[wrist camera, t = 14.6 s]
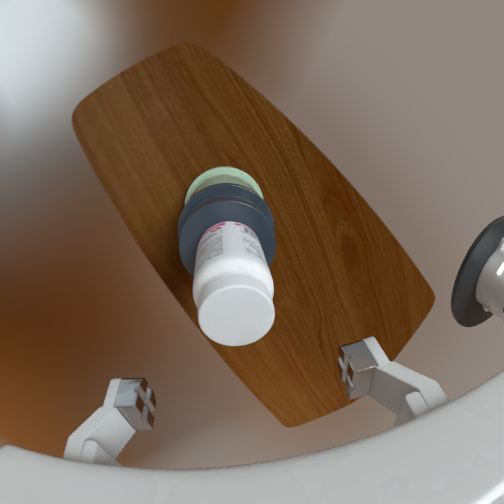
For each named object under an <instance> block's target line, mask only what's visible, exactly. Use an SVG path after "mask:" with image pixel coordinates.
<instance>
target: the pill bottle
mask: <svg viewBox="0 0 504 504" xmlns="http://www.w3.org/2000/svg"><path fill="white" fill-rule="evenodd" d="M273 293H274V286H273V280H272V277H271V274H270V270H269V268H268V265H267V262H266V259H265V256H264V253H263V250H262V247H261V244H260V242H259V239H258V238H257V236H256V234H255V233H254V232H253V231H252V230H251V229H250V228H249V227H247V226H246V225H244V224H241V223H238V222H231V221H228V222H221V223H218V224H216V225H214V226H212V227H210V228H209V229H208V230H207V231H206V232H205V233H204V234H203V235H202V237H201V239H200V241H199V244H198V248H197V254H196V262H195V271H194V279H193V298H194V301H195V304H196V306H197V308H198V322H199V325H200V327H201V330H202V331H203V332H204V334H205V335H206V336H208V337H209V338H210V339H212V340H213V341H215V342H217V343H219V344H223V345H227V346H242V345H247V344H250V343H253V342H255V341H257V340H259V339H260V338H262V337H263V336H264V335H265V334H266V333H267V332H268V331H269V330H270V328H271V326H272V324H273V321H274V317H275V311H274V306H273V301H272V298H273Z"/></svg>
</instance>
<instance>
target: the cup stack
mask: <svg viewBox="0 0 504 504" xmlns="http://www.w3.org/2000/svg"><path fill="white" fill-rule="evenodd" d="M228 221H231V222H238V223H241V224H244V225H246V226H247V227H249V228H250V229H251V230H252V231H253V232H254V233H255V234H256V236H257V238H258V239H259V242H260V244H261V247H262V250H263V253H264V256H265V259H266V262H267V265H268V268H269V266H270V264H271V263H272V260H273V258H274V254H275V249H276V240H275V234H274V233H275V225H274V219H273V216H272V213H271V211H270V209H269V207H268V205H267V204H266V202H265V201H264V200H263V196H262V192H261V190H260V188H259V186H258V184H257V183H256V182H255V180H254V179H253V178H252V177H251V176H250V175H248V174H247V173H246V172H244V171H242V170H240V169H237V168H234V167H225V166H222V167H216V168H212V169H209V170H207V171H205V172H203V173H202V174H200V175H199V176H198V177H197V178H196V179H195V180H194V181H193V183H192V184H191V186H190V187H189V189H188V192H187V194H186V198H185V206H184V208H183V210H182V212H181V215H180V217H179V221H178V229H177V232H178V240H179V253H180V258H181V260H182V263H183V265H184V267H185V268H186V270H187V271H188V272H189V273H190V275H191V276H192V277H194V271H195V262H196V254H197V248H198V244H199V241H200V239H201V237H202V235H203V234H204V233H205V232H206V231H207V230H208V229H209V228H210V227H212V226H214V225H216V224H218V223H221V222H228Z"/></svg>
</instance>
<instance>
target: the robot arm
mask: <svg viewBox="0 0 504 504" xmlns="http://www.w3.org/2000/svg"><path fill="white" fill-rule="evenodd" d="M475 295H476V300H477V301H478V302H479V303H480V304H482V308H483V310H484V311H486V312H488V311H490V312H491V313H493V314H494V315H495V316H497V317H498V318H499V319H501V320H502V321H503V322H504V237H503V238H502V240H501V241H500V243H499V245H498V247H497V249H496V250H495V252H494V253H493V254H492V255H491V257H490V258H489V259H488V261H487V262H486V264H485V266H484V267H483V269H482V271H481V274H480V276H479V279H478V282H477V285H476V292H475ZM338 353H339V355H340V358H339V359H338V371H339V374H340V377H341V379H342V381H344V382H346V384H345V389H346V391H347V394H348V396H349V398H350V400H351V399H354V398H358V397H361V396H365V395H368V394H369V395H370V396H371V397H372V398H374V399H375V400H376V401H378V402H380V403H381V404H382V405H384V406H385V407H387V408H388V409H390V410H391V411H392V412H394V413H395V414H397V415H398V417H397V419H396V421H395V423H394V426H393V428H390V429H387V430H385V431H382V432H379V433H376V434H374V435H371V436H368V437H365V438H362V439H359V440H356V441H353V442H350V443H346V444H343V445H339V446H336V447H332V448H328V449H324V450H320V451H317V452H312V453H308V454H303V455H299V456H294V457H289V458H284V459H279V460H273V461H266V462H260V463H253V464H245V465H236V466H226V467H214V468H197V469H147V468H146V469H145V468H130V467H123V466H122V465H121V464H120V463H119V462H118V461H117V460H116V459H115V458H116V457H117V456H118V454H119V453H120V452H121V450H122V449H123V448H124V446H125V445H126V443H127V442H128V441H129V439H130V438H131V437H132V435H133V434H134V433H135V430H152V429H153V423H154V417H153V415H152V413H153V411H154V410H155V408H156V399H155V395H154V393H153V391H152V390H151V389H150V388H148V387H147V384H148V383H147V381H146V380H145V378H123V379H112V380H111V381H110V384H109V387H108V391H107V394H106V397H105V401H104V404H103V407H99V409H97V410H96V411H95V412H94V413H93V414H92V415H91V416H90V417H89V418H88V419H87V420H86V421H85V422H84V423H83V424H82V425H81V426H80V427H79V428H78V429H76V431H75V432H73V433H72V434H71V435H70V436H69V439H68V441H67V445H66V448H65V452H64V456H63V458H59V457H54V456H50V455H46V454H42V453H38V452H34V451H30V450H26V449H23V448H20V447H17V446H13V445H5V446H3V447H2V448H0V504H504V370H502V371H501V372H499V373H498V374H496V375H495V376H493V377H491V378H490V379H488V380H487V381H485V382H484V383H482V384H480V385H479V386H477V387H475V388H474V389H472V390H470V391H468V392H467V393H465V394H463V395H461V396H459V397H458V398H456V399H454V400H452V401H450V402H449V400H448V399H447V397H446V395H445V394H444V392H443V391H442V389H441V388H440V387H439V385H438V383H437V382H436V381H434V380H432V379H430V378H428V377H426V376H423V375H421V374H419V373H417V372H415V371H413V370H411V369H409V368H407V367H404V366H402V365H400V364H398V363H396V362H394V361H392V362H390V361H389V360H388V358H387V356H386V355H385V353H384V351H383V350H382V348H381V347H380V345H379V343H378V342H377V340H376V339H375V337H373V336H372V337H369V338H366V339H362V340H358V341H355V342H351V343H348V344H344V345H341V346H339V350H338Z"/></svg>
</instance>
